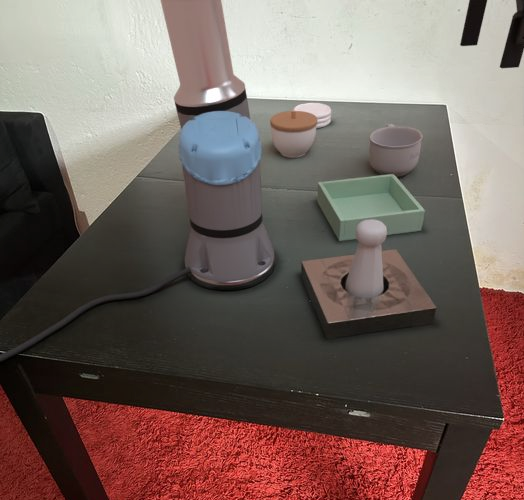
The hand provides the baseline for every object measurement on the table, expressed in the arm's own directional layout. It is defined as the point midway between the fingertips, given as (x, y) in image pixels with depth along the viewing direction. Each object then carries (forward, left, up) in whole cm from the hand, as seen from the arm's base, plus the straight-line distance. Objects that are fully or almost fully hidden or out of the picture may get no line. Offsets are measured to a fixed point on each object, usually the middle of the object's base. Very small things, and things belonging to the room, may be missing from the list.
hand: (487, 55), depth 84 cm
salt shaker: (-26, -24, -27) cm, 44 cm away
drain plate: (-26, -24, -27) cm, 44 cm away
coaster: (-15, +52, -27) cm, 61 cm away
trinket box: (-24, +34, -27) cm, 50 cm away
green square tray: (-17, +1, -27) cm, 31 cm away
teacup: (-5, +20, -27) cm, 34 cm away
